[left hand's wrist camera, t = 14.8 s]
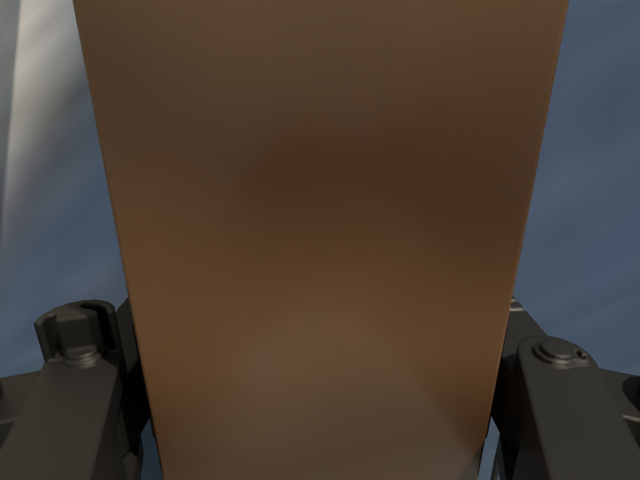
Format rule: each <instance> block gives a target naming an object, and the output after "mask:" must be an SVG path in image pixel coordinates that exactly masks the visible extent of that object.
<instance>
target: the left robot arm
mask: <svg viewBox="0 0 640 480" xmlns="http://www.w3.org/2000/svg"><path fill="white" fill-rule="evenodd" d="M34 326H35V330H36V333H37V336H38V340H39V343H40V347H41V350H42V354H43V357H44V361H45V363H44V365H43V367H42V369H41V370H39V371H35V372H31V373H25V374H20V375H15V376H10V377H5V378H0V480H140V479H141V471H142V463H143V454H144V452H143V445H142V440H141V433H142V431H143V429H144V427H145V425H146V423H147V421H148V419H149V417H150V423H151V428H152V433H153V438H155V435H154V429H153V424H152V419H151V413H150V408H149V403H148V397H147V392H146V387H145V382H144V376H143V371H142V366H141V360H140V355H139V350H138V344H137V339H136V334H135V329H134V323H133V318H132V313H131V307H130V302H129V297H128V298H127V299H126V300H125V303H123V304H122V305H121V306H120V307H119V308H118V309H117V312H115V307H114V306H113V305H112V304H110V303H109V302H106V301H101V300H83V301H78V302H73V303H68V304H65V305H63V306H60V307H57V308H54V309H52V310H51V311H49V312H47V313H45V314H44V315H42V316H41V317H40V318H39V319H38V320H37V321H36V322H35V323H34ZM491 416H492V418H493V420H494V422H495V424H496V426H497V428H498V430H499V432H500V435H499V440H498V445H497V450H496V454H495V459H494V464H493V469H492V475H491V480H497V477H498V473H499V478H500V480H640V376H635V375H630V374H625V373H620V372H614V371H609V370H605V369H601V368H598V366H597V364H596V362H595V361H594V359H593V358H592V357H591V356H590V355H589V353H588V352H586V351H585V350H583V349H582V348H580V347H579V346H577V345H575V344H573V343H570V342H568V341H566V340H563V339H559V338H555V337H551V336H547V335H546V333H545V332H544V331H543V330H542V329H541V328H540V327H539V325H538V324H537V323H536V322H535V321H534V320H533V319H532V317H531V316H530V315H529V314H528V313H527V312H526V311H524V308H523V307H522V306H521V305H520V304H519V302H516V299H515V298H514V297H513V296H512V301H511V306H510V311H509V317H508V322H507V327H506V332H505V338H504V343H503V348H502V353H501V359H500V364H499V369H498V374H497V379H496V385H495V390H494V395H493V400H492V406H491V411H490V416H489V421H488V427H487V432H486V437H485V438H487V435H488V430H489V424H490V419H491Z"/></svg>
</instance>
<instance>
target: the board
mask: <svg viewBox="0 0 640 480" xmlns="http://www.w3.org/2000/svg"><path fill="white" fill-rule="evenodd" d="M568 2H569V0H73V5H74V11H75V16H76V21H77V26H78V32H79V37H80V42H81V48H82V53H83V58H84V64H85V69H86V74H87V79H88V85H89V90H90V95H91V101H92V106H93V111H94V117H95V122H96V127H97V132H98V138H99V143H100V148H101V154H102V159H103V164H104V170H105V175H106V180H107V185H108V191H109V196H110V201H111V207H112V212H113V217H114V223H115V228H116V233H117V238H118V244H119V249H120V254H121V260H122V265H123V270H124V276H125V281H126V286H127V291H128V297H129V302H130V307H131V313H132V318H133V323H134V329H135V334H136V339H137V344H138V350H139V355H140V360H141V366H142V371H143V376H144V382H145V387H146V392H147V397H148V403H149V408H150V413H151V419H152V424H153V429H154V435H155V440H156V445H157V450H158V456H159V461H160V466H161V472H162V477H163V480H477V479H478V474H479V469H480V463H481V458H482V453H483V448H484V442H485V437H486V432H487V427H488V421H489V416H490V411H491V406H492V400H493V395H494V390H495V385H496V379H497V374H498V369H499V364H500V359H501V353H502V348H503V343H504V338H505V332H506V327H507V322H508V317H509V311H510V306H511V301H512V296H513V290H514V285H515V280H516V275H517V269H518V264H519V259H520V254H521V249H522V243H523V238H524V233H525V228H526V222H527V217H528V212H529V207H530V201H531V196H532V191H533V186H534V180H535V175H536V170H537V165H538V159H539V154H540V149H541V144H542V138H543V133H544V128H545V123H546V118H547V112H548V107H549V102H550V97H551V91H552V86H553V81H554V76H555V70H556V65H557V60H558V55H559V49H560V44H561V39H562V34H563V28H564V23H565V18H566V13H567V7H568Z"/></svg>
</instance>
